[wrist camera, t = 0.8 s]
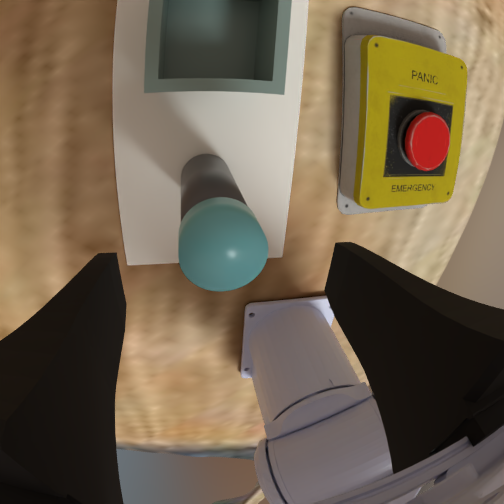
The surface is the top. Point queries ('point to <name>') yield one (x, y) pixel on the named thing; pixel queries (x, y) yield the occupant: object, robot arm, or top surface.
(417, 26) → the emergency button
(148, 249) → the white flat plate
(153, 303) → the top surface
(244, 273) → the marker
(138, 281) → the top surface
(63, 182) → the top surface
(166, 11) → the grey-green hollow square block
